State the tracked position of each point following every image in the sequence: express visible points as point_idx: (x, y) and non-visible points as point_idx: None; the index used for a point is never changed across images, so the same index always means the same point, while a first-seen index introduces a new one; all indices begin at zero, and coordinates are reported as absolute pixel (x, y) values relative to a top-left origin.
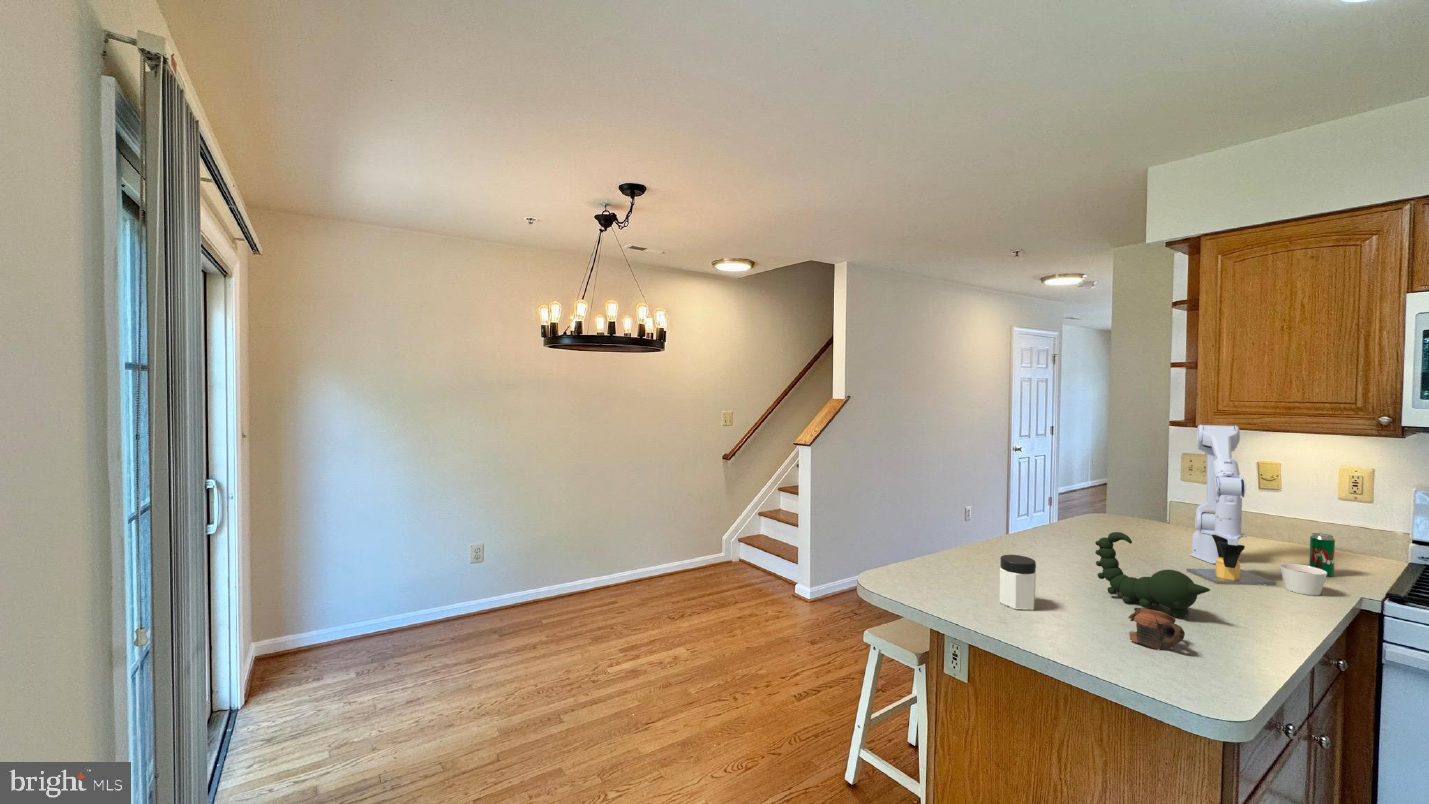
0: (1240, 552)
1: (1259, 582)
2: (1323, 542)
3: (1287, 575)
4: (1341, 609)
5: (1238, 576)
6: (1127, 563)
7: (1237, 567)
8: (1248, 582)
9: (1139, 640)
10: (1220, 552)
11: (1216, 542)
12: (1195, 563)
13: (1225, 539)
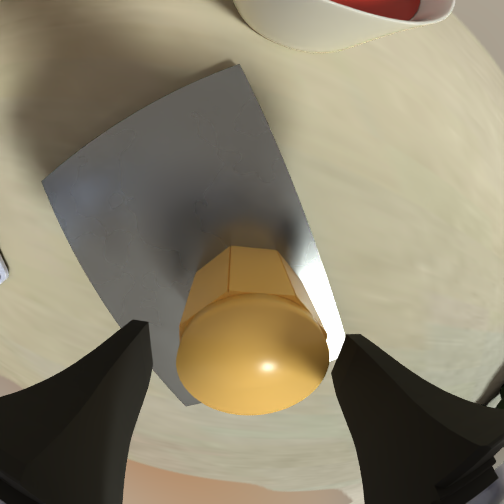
0: (469, 404)
1: (279, 152)
2: None
3: (386, 33)
4: (468, 32)
5: (287, 266)
6: (198, 473)
7: (309, 306)
8: (303, 215)
9: None
10: (135, 403)
11: (120, 485)
12: (39, 329)
13: (92, 499)
